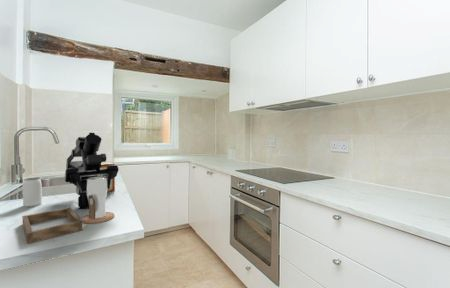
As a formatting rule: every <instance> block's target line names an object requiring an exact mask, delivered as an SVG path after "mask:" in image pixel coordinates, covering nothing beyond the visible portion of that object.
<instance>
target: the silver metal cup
mask: <svg viewBox="0 0 450 288" xmlns="http://www.w3.org/2000/svg"><path fill="white" fill-rule="evenodd" d="M107 195H108V192H107V177H91V178H88V179H87V198H88V203H89V208H88V209H89V210H88V215H89V216H88V218H89V219H101V218H104V217H105V216H106V212H107V211H106V201H107Z"/></svg>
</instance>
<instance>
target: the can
mask: <svg viewBox="0 0 450 288" xmlns="http://www.w3.org/2000/svg"><path fill="white" fill-rule="evenodd" d="M42 186H43V185H42V180H41V177H27V178H24V179H23V182H22V205H23V207H25V206H26V207H25V208H28V207H29V208H30V206H32V207H36V206H40V205H41V204H42V203H43V195H42V194H43V191H42V189H43V187H42Z"/></svg>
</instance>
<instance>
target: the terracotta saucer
mask: <svg viewBox="0 0 450 288" xmlns="http://www.w3.org/2000/svg"><path fill="white" fill-rule="evenodd" d="M88 216H89V214H87V215H85V216H83V217H82V218H81V220H82V224H92V225H93V224H101V223H105V222H108V221H111V220H113V219H114V217H115V213H114V212H111V211H106V216H105V217H104V218H101V219H89V218H88Z"/></svg>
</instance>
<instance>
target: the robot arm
mask: <svg viewBox="0 0 450 288" xmlns="http://www.w3.org/2000/svg"><path fill="white" fill-rule="evenodd" d="M101 143H102V138H101V136H99V135H98V134H95V132H89V133H88V134H87V135H86V136H78V137H77V139H75V147H74V148H73V149H71V153H70V155H69V156H68V157H67V158H66V162H65V163H66V165H65V172H64V181H65V182H66V183H69V184H73V185H74V186H75V192H76V194H77V195H78V197H77V206H78V209H79V210H82V209H89V203H88V198H87V179H88V178H91V177H97V176H98V175H103V174H106V177H107V187H108V189H109V188H110V183H111V179H113V178H114V177H115V178H116V177H117V175H118V173H119V170H120V169H119V166H118V165H116V164H115V165H111V166H107V169H103V170H100V168H101V164H103V163H106V162H107V155H106V153H100V154H98V152H99V150H100V146H101ZM80 157H81V159H82V160H75V161H73V160H74V158H80Z"/></svg>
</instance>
